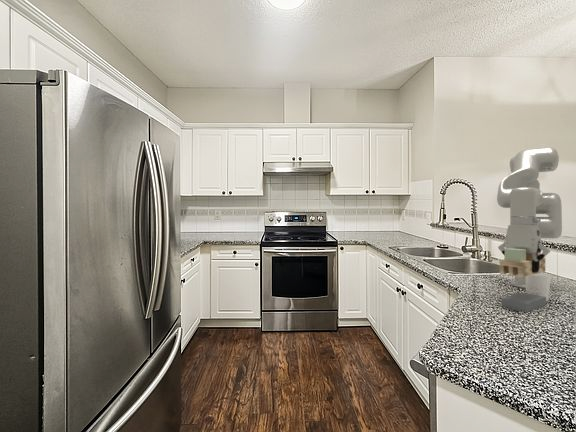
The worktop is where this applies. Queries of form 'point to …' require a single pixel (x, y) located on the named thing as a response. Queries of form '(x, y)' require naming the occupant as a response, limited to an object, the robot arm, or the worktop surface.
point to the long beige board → (520, 267)
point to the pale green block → (515, 254)
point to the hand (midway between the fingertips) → (522, 270)
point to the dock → (524, 301)
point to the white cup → (538, 284)
